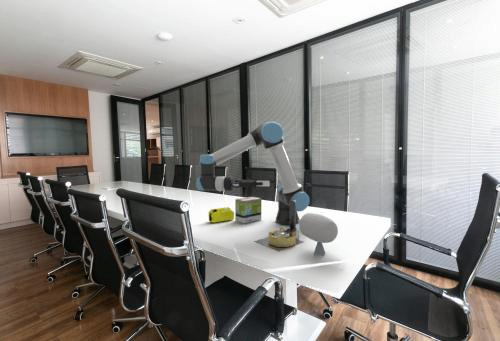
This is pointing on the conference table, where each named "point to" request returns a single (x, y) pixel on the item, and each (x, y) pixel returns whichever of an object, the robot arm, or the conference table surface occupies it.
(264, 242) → the plate
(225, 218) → the yellow toy chassis
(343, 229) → the conference table surface
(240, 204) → the tea box
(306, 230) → the grey oval on stand
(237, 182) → the robot arm
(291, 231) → the tan base with handle
